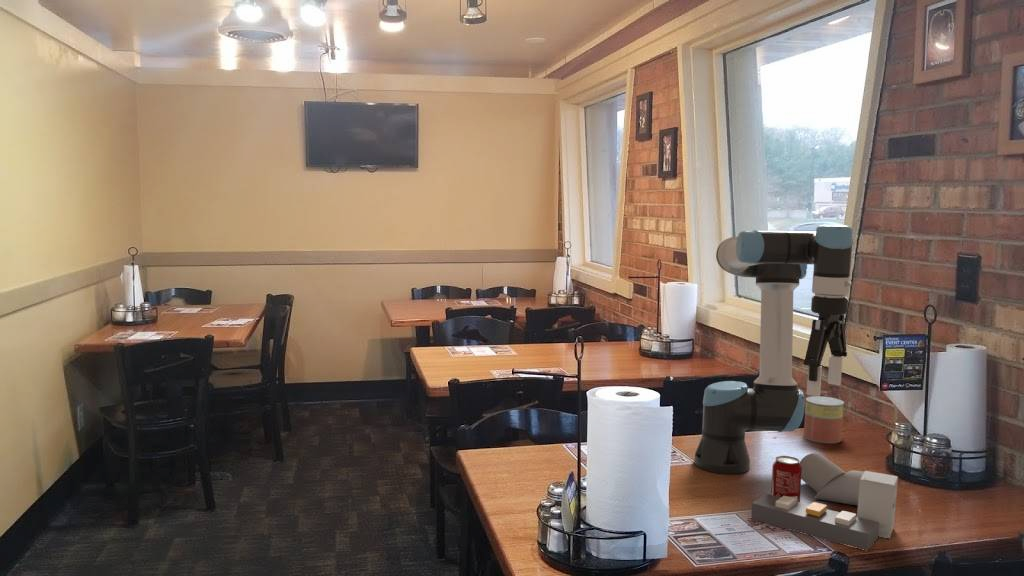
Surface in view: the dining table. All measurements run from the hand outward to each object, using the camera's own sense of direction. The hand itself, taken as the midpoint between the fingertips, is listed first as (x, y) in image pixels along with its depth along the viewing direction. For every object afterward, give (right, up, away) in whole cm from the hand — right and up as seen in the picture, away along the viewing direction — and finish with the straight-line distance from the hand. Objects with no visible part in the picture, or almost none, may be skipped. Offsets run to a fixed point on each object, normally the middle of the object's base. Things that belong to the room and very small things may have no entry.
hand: (824, 389), depth 182 cm
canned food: (+28, -25, +75) cm, 83 cm away
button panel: (-1, -32, +4) cm, 33 cm away
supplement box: (+13, -33, +4) cm, 36 cm away
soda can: (-3, -31, +18) cm, 36 cm away
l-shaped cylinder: (+13, -31, +25) cm, 42 cm away
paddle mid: (0, -29, +4) cm, 29 cm away
